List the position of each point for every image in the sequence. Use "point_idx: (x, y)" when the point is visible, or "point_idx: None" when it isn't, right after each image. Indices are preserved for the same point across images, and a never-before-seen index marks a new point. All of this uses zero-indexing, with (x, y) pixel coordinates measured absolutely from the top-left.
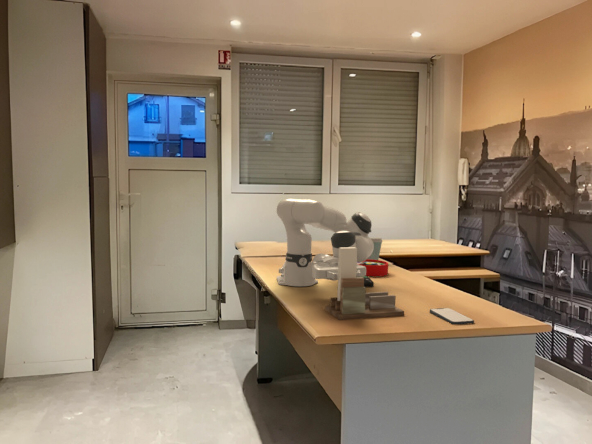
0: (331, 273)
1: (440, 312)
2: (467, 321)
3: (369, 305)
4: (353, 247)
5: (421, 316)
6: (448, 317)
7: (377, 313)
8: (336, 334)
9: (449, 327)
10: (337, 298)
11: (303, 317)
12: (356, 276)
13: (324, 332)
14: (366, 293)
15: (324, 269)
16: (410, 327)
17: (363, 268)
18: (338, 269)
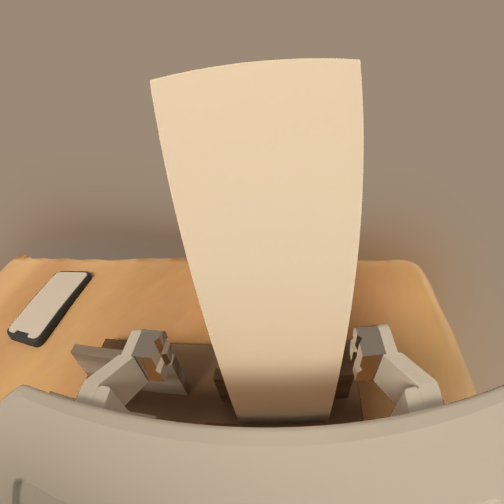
0: (400, 354)
1: (47, 315)
2: (68, 271)
3: (184, 385)
4: (177, 75)
5: (85, 328)
6: (69, 290)
7: (196, 345)
8: (377, 262)
9: (114, 267)
10: (330, 412)
11: (461, 379)
12: (166, 369)
13: (402, 273)
14: (143, 414)
15: (469, 401)
16: (182, 276)
17: (36, 389)
18: (353, 283)
